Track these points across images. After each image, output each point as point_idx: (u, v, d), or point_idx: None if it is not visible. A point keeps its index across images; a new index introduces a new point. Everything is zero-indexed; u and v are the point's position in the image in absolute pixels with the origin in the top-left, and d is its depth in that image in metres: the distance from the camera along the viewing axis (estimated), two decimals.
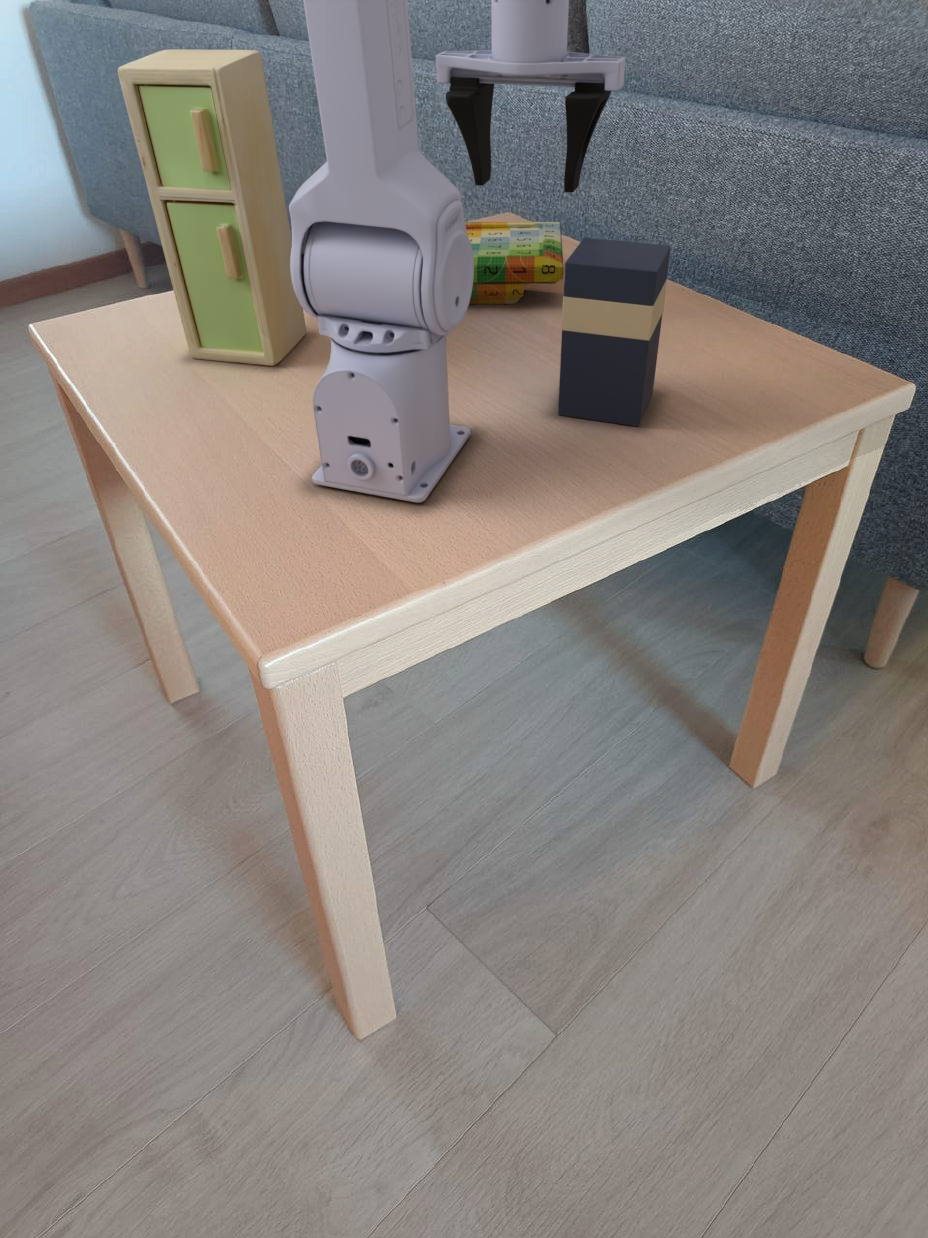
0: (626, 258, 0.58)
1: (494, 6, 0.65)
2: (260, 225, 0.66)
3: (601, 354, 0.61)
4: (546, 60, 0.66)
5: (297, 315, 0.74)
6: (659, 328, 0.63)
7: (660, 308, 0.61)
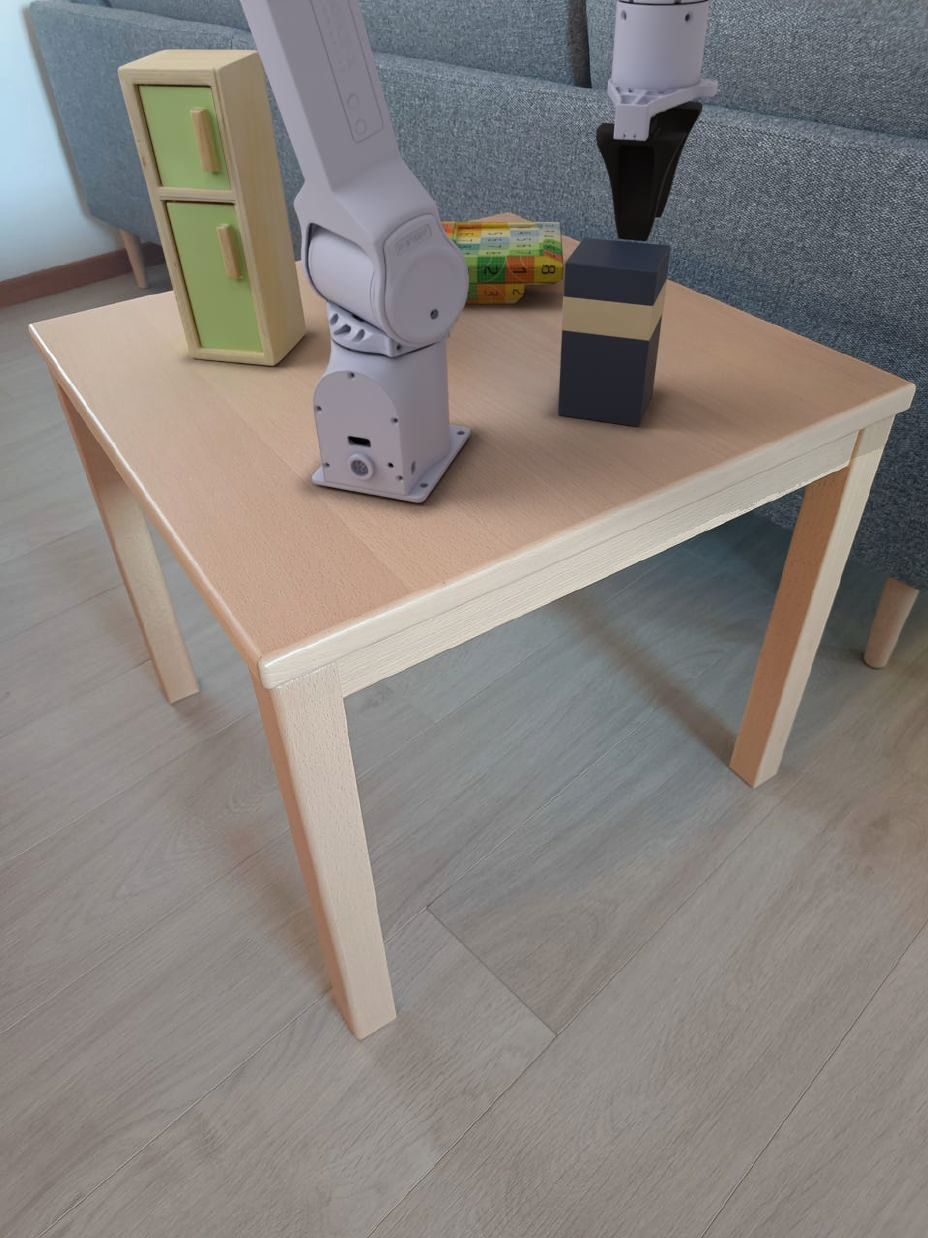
0: (626, 258, 0.58)
1: None
2: (260, 225, 0.66)
3: (601, 354, 0.61)
4: (617, 83, 0.57)
5: (297, 315, 0.74)
6: (659, 328, 0.63)
7: (660, 308, 0.61)
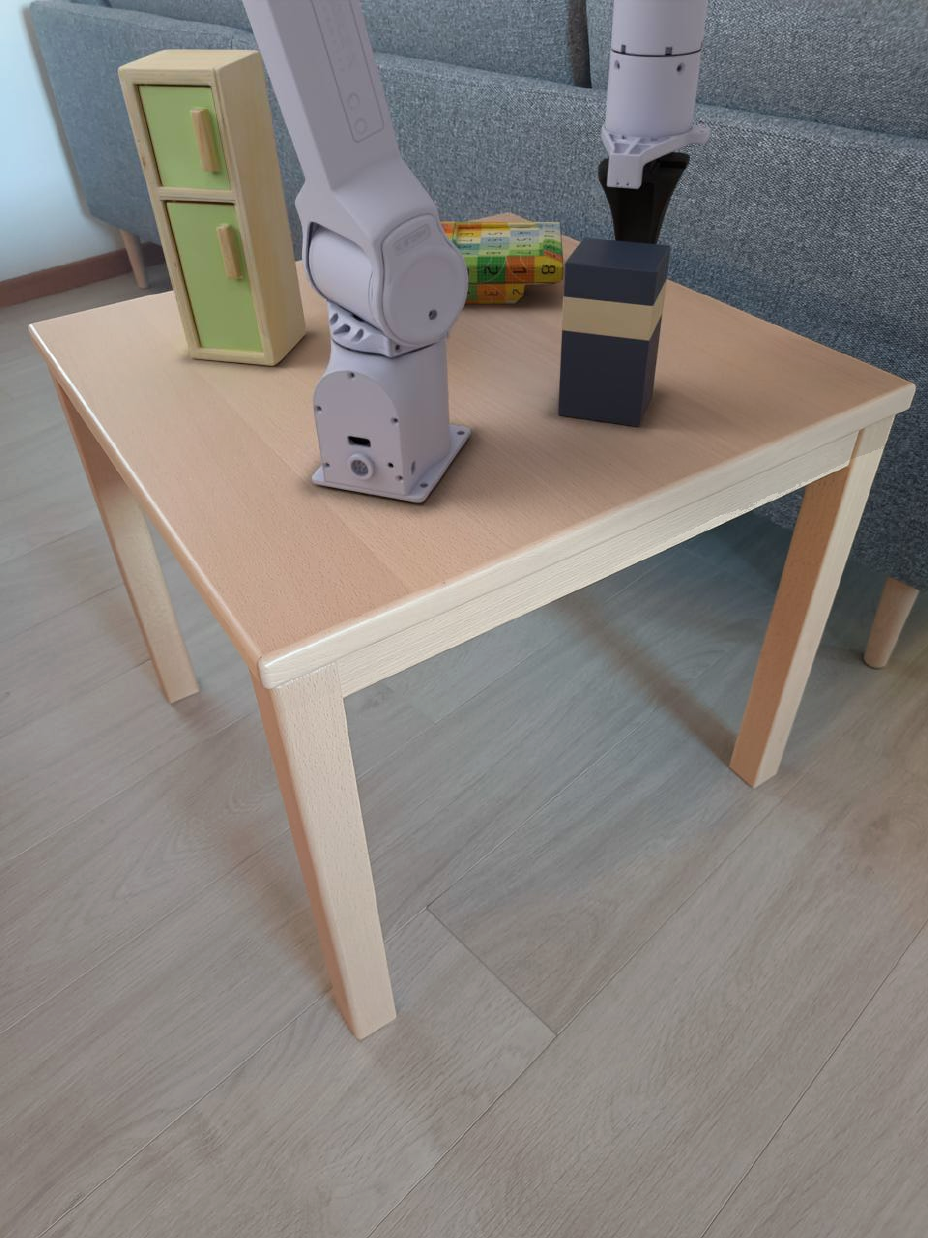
0: (626, 258, 0.58)
1: None
2: (260, 225, 0.66)
3: (601, 354, 0.61)
4: (611, 130, 0.58)
5: (297, 315, 0.74)
6: (659, 328, 0.63)
7: (660, 308, 0.61)
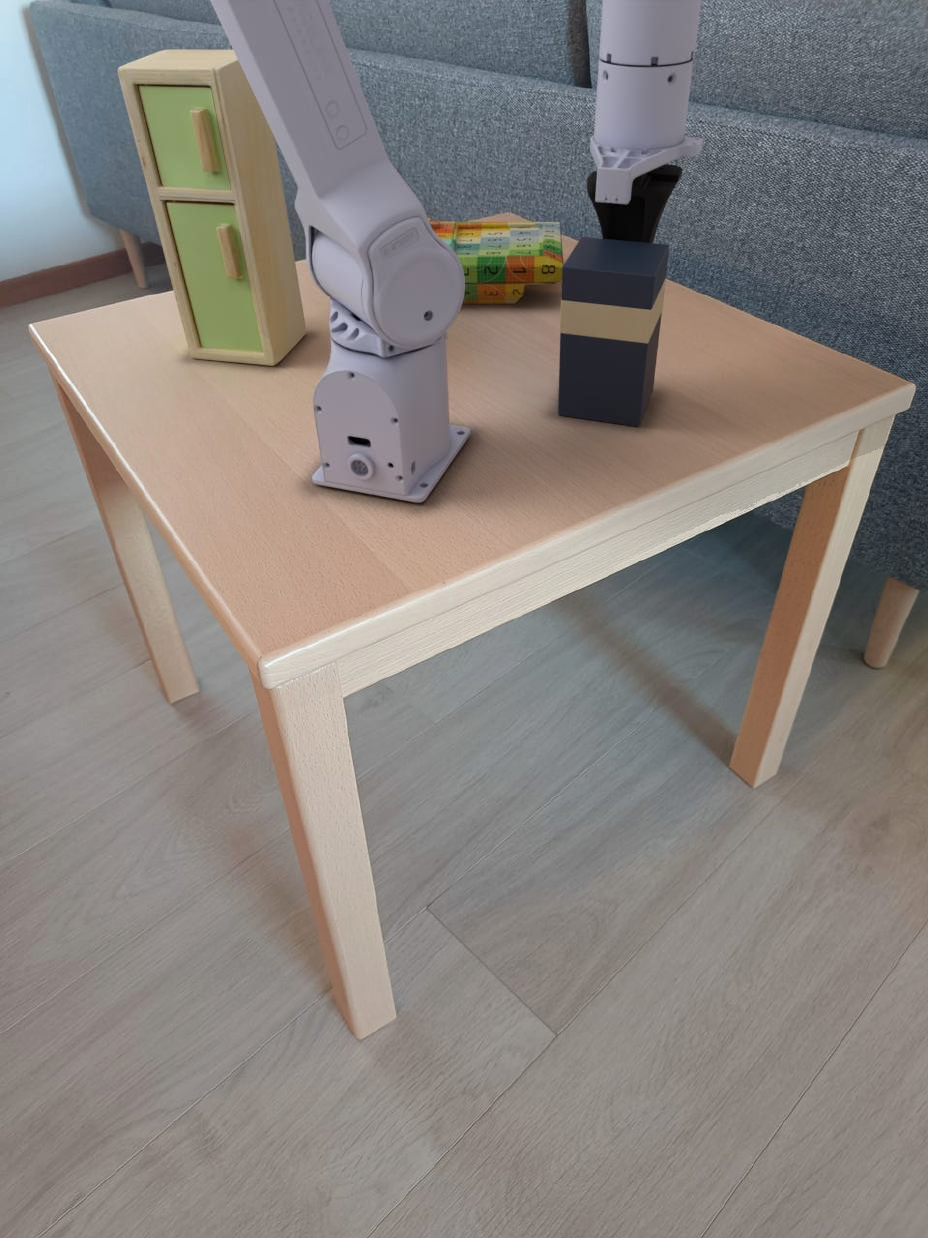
0: (623, 261, 0.57)
1: None
2: (260, 225, 0.66)
3: (600, 356, 0.61)
4: (599, 142, 0.56)
5: (297, 315, 0.74)
6: (658, 327, 0.62)
7: (659, 308, 0.61)
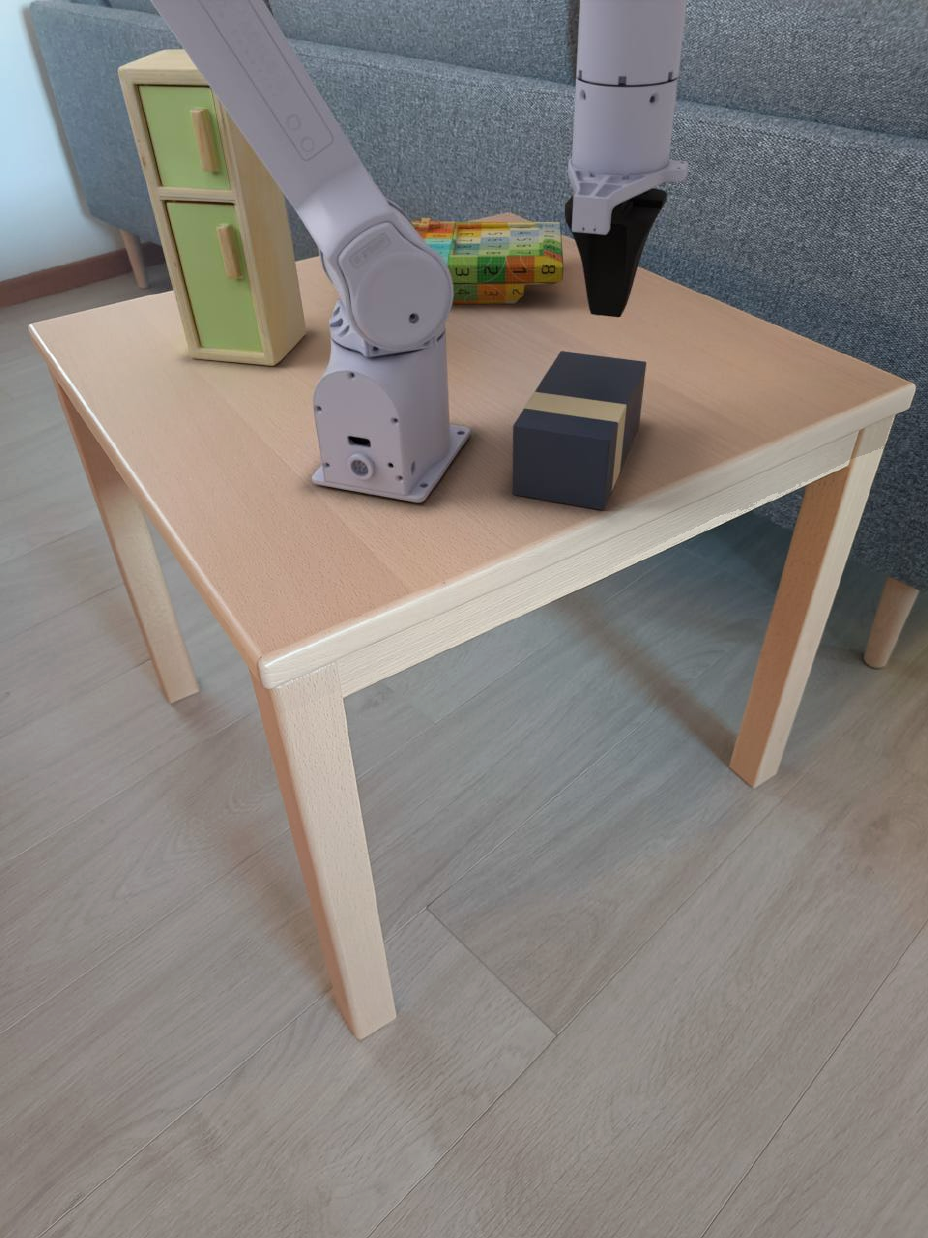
0: (568, 481, 0.55)
1: None
2: (260, 225, 0.66)
3: None
4: (577, 166, 0.52)
5: (297, 315, 0.74)
6: (628, 407, 0.57)
7: (621, 433, 0.56)
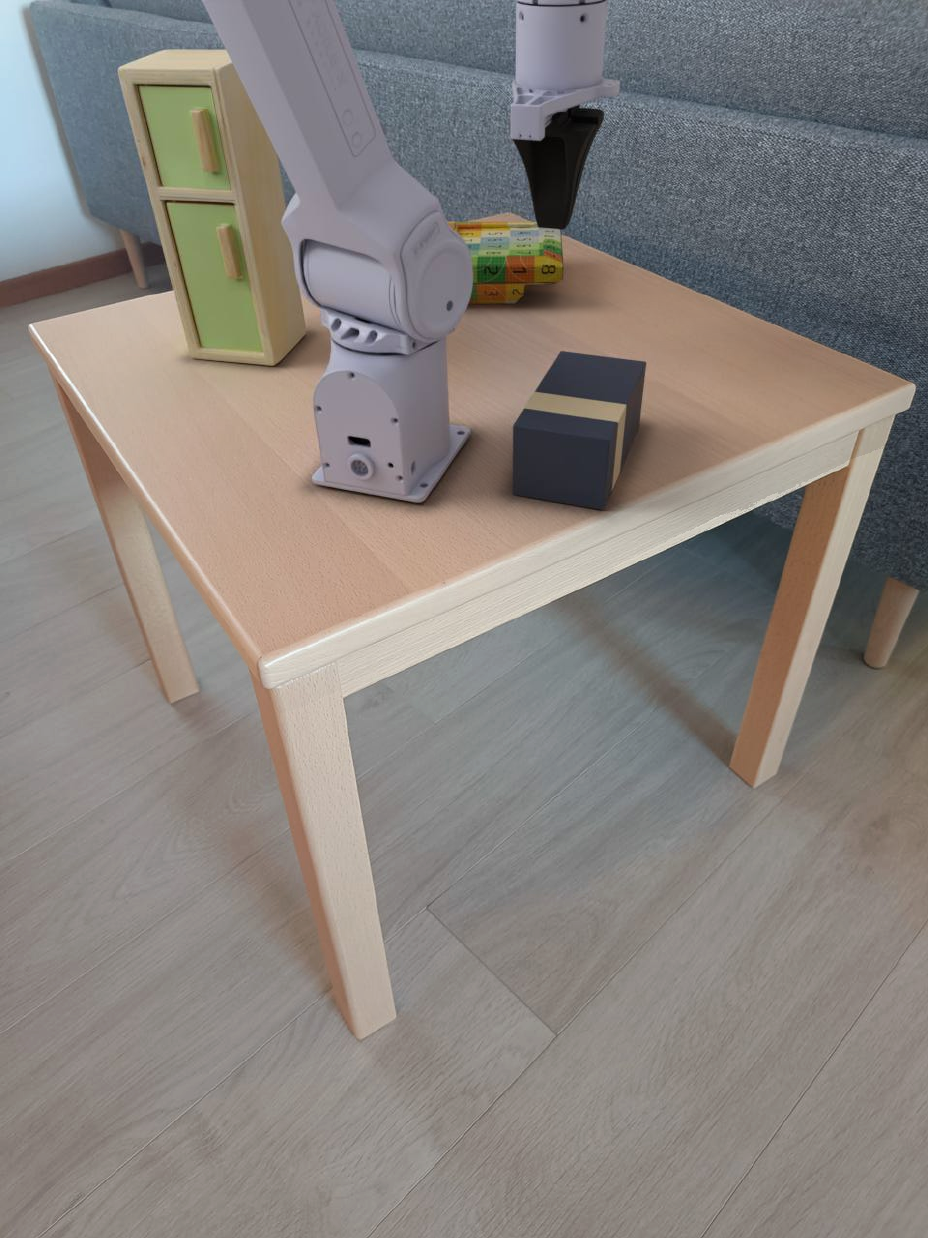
0: (568, 481, 0.55)
1: None
2: (260, 225, 0.66)
3: None
4: (519, 83, 0.58)
5: (297, 315, 0.74)
6: (628, 407, 0.57)
7: (621, 433, 0.56)
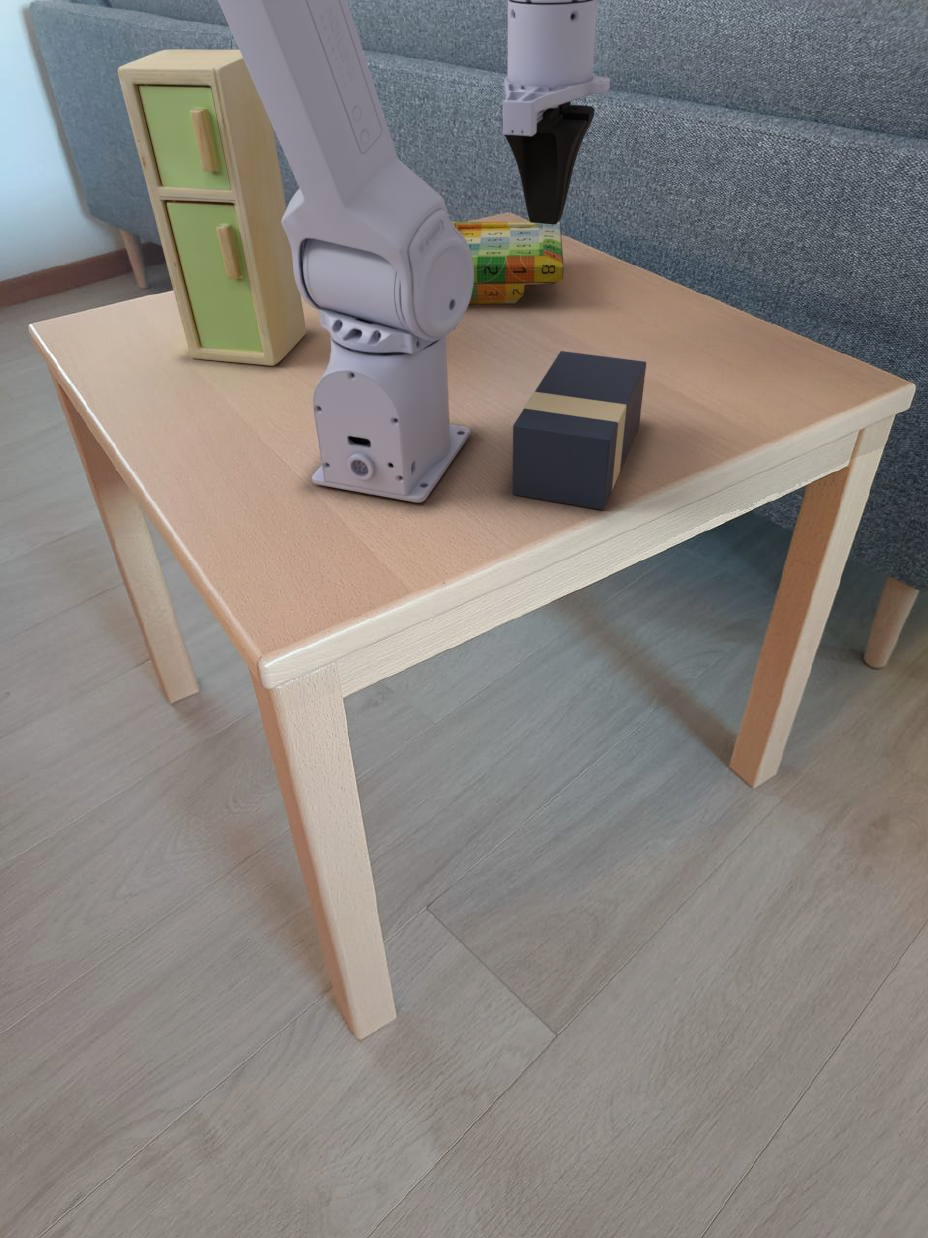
0: (568, 481, 0.55)
1: None
2: (260, 225, 0.66)
3: None
4: (511, 80, 0.59)
5: (297, 315, 0.74)
6: (628, 407, 0.57)
7: (621, 433, 0.56)
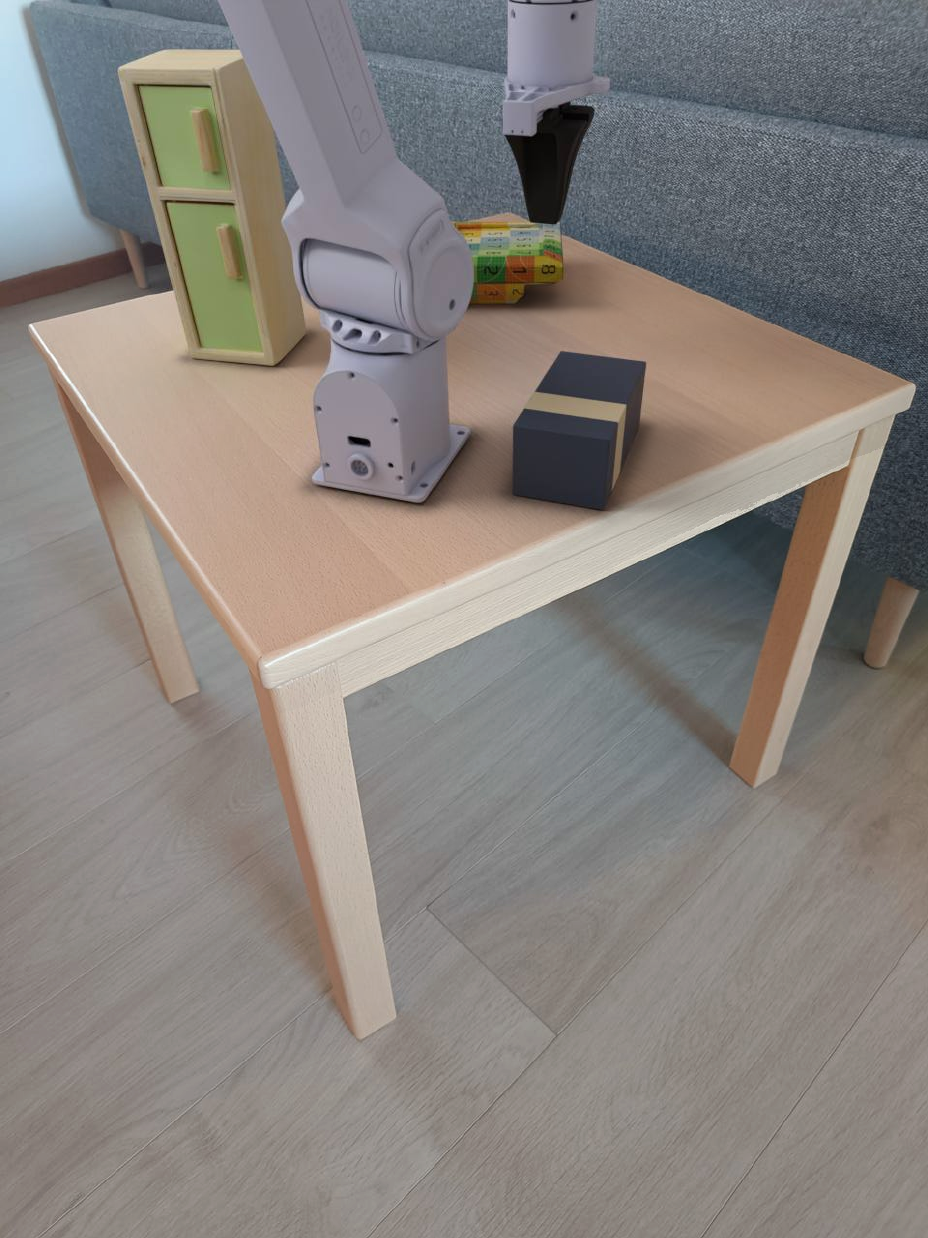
0: (568, 481, 0.55)
1: None
2: (260, 225, 0.66)
3: None
4: (511, 80, 0.59)
5: (297, 315, 0.74)
6: (628, 407, 0.57)
7: (621, 433, 0.56)
